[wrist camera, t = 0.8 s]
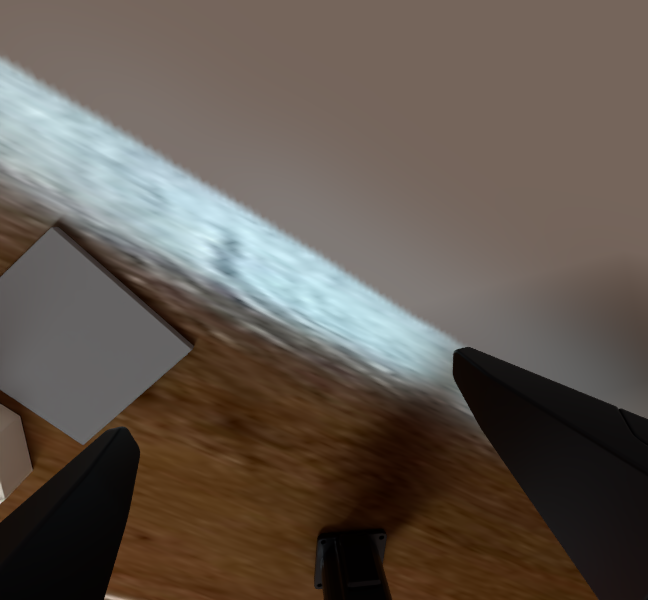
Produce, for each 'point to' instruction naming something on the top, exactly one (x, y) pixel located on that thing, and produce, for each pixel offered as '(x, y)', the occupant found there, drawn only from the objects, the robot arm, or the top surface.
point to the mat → (78, 338)
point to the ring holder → (12, 453)
